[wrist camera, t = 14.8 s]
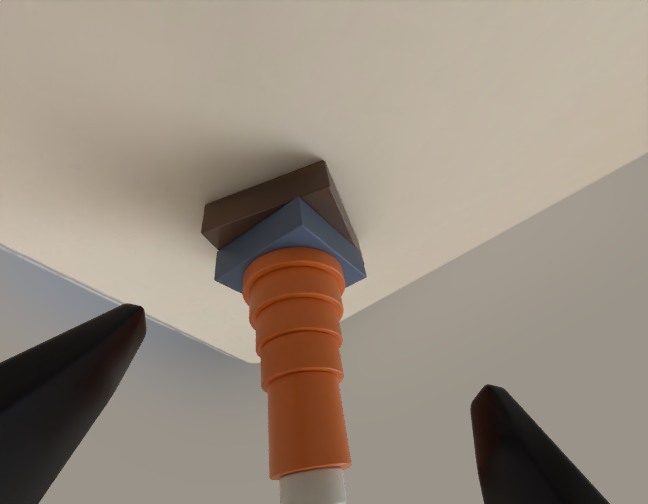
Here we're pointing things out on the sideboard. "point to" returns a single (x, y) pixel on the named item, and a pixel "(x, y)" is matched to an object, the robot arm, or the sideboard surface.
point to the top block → (287, 244)
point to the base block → (277, 205)
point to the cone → (301, 370)
